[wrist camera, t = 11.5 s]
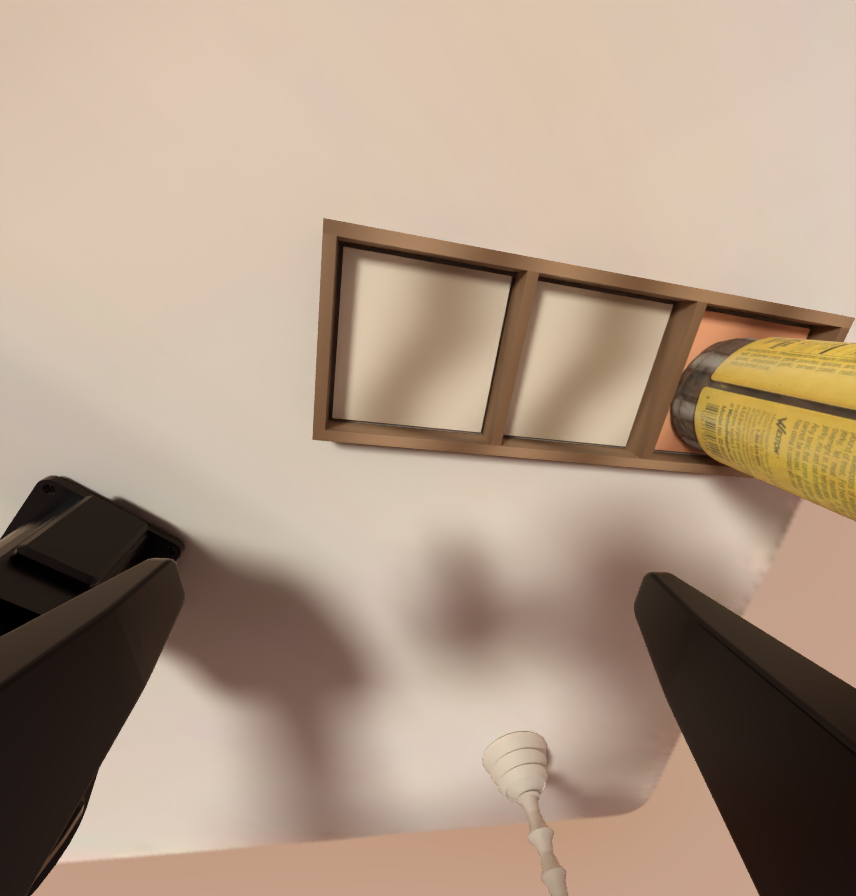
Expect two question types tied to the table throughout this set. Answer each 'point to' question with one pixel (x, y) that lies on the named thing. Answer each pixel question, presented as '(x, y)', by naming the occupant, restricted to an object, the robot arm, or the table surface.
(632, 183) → the table surface
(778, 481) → the sauce bottle
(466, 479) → the table surface
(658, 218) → the table surface
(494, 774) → the chalice
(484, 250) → the brown compartment tray
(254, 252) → the table surface
